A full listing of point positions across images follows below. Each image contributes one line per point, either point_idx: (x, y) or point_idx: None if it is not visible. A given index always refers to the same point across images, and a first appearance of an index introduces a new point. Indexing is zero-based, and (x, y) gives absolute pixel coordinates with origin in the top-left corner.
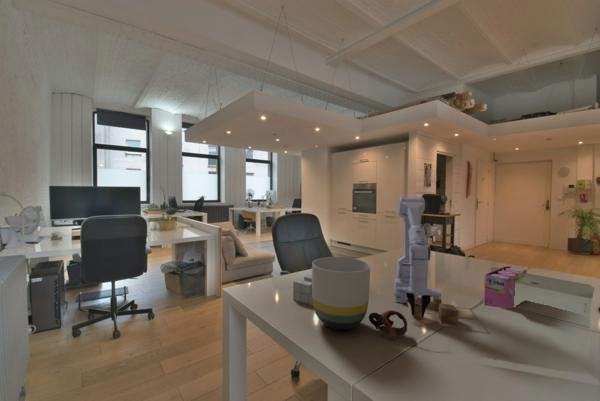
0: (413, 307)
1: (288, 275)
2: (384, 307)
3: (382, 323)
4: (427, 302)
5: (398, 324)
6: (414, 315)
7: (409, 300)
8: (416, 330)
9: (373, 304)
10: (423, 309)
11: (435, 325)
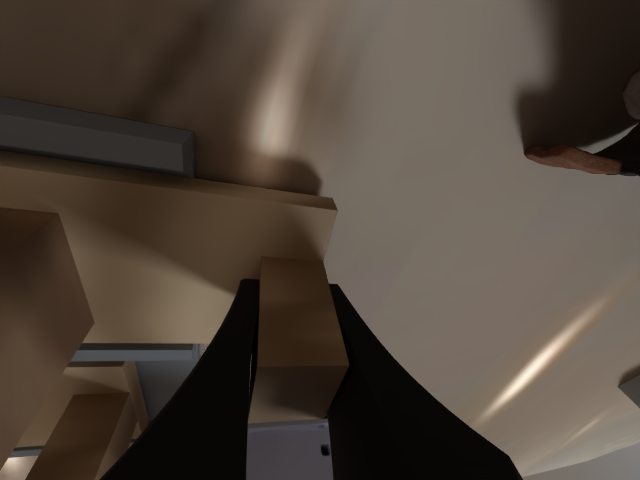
0: (359, 347)
1: (612, 450)
2: (420, 365)
3: (629, 144)
4: (151, 474)
5: (455, 191)
6: (326, 280)
7: (472, 437)
8: (351, 99)
9: (458, 376)
10: (240, 338)
11: (132, 152)
